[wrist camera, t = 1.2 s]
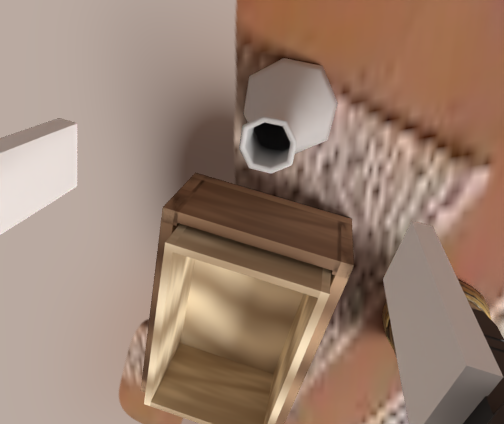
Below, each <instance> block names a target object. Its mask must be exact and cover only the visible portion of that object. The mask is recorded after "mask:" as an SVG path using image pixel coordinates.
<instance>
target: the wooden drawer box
mask: <svg viewBox="0 0 504 424" xmlns="http://www.w3.org/2000/svg"><path fill="white" fill-rule="evenodd" d="M179 224H183V225H186V226H190V227H193V228H196V229H199V230H202V231H206V232H209V233H212V234H215V235H219V236H222V237H225V238H228V239H232V240H235V241H238V242H241V243H245V244H248V245H251V246H254V247H258V248H261V249H264V250H267V251H271V252H274V253H277V254H280V255H284V256H287V257H290V258H293V259H296V260H300V261H303V262H306V263H309V264H313V265H316V266H319V267H322V268H326V269H329V270H331V279H330V295H329V297H328V300H327V302H326V305H325V307H324V309H323V312H322V314H321V316H320V319H319V321H318V323H317V326H316V328H315V331H314V333H313V335H312V338H311V340H310V342H309V345H308V347H307V349H306V352H305V354H304V357H303V359H302V361H301V364H300V366H299V368H298V371H297V373H296V376H295V378H294V380H293V383H292V385H291V387H290V390H289V392H288V394H287V397H286V399H285V402H284V404H283V406H282V409H281V411H280V413H279V416H278V418H277V421H276V423H275V424H284V423H285V421H286V419H287V416H288V414H289V412H290V410H291V407H292V405H293V403H294V401H295V398H296V396H297V394H298V392H299V389H300V387H301V385H302V382H303V380H304V378H305V376H306V373H307V371H308V369H309V367H310V364H311V362H312V360H313V358H314V355H315V353H316V351H317V349H318V346H319V344H320V342H321V339H322V337H323V335H324V333H325V330H326V328H327V326H328V324H329V321H330V319H331V317H332V315H333V312H334V310H335V308H336V306H337V303H338V301H339V299H340V297H341V294H342V292H343V290H344V287H345V285H346V283H347V281H348V278H349V276H350V274H351V272H352V269H353V267H354V254H353V235H352V219H350V218H347V217H343V216H340V215H337V214H333V213H330V212H327V211H323V210H320V209H316V208H313V207H310V206H306V205H303V204H300V203H296V202H293V201H289V200H286V199H283V198H279V197H276V196H273V195H269V194H266V193H262V192H259V191H256V190H252V189H249V188H246V187H242V186H239V185H235V184H232V183H229V182H225V181H222V180H219V179H215V178H212V177H208V176H205V175H201V174H198V173H195V174H194V175H193V176H192V177H191V178H190V179H189V180H188V181H187V182H186V183H185V185H184V186H183V187H182V188H181V189H180V190H179V191H178V192H177V193H176V194H175V195H174V196H173V197H172V198H171V199H170V200H169V201H168V202H167V204H165V206H164V207H163V210H162V218H161V227H160V235H159V243H158V251H157V260H156V269H155V276H154V285H153V293H152V301H151V310H150V318H149V326H148V334H147V342H146V351H145V359H144V367H143V376H142V384H141V391H143V392H146V385H147V377H148V370H149V362H150V354H151V347H152V339H153V331H154V324H155V316H156V308H157V301H158V293H159V286H160V278H161V270H162V263H163V255H164V247H165V242H166V241H167V239H168V238H169V237H170V236H171V234H172V233H173V232H174V231H175V229H176V228H177V227H178V226H179Z"/></svg>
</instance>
